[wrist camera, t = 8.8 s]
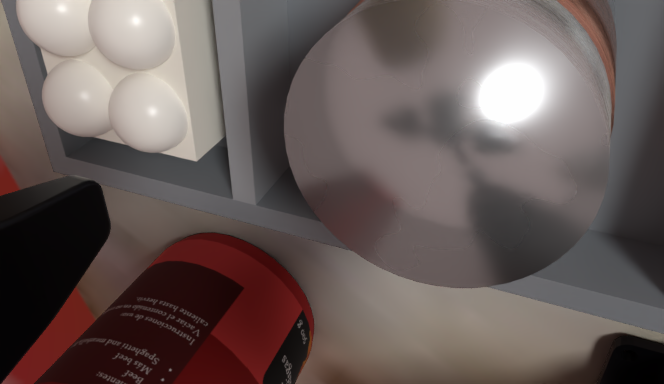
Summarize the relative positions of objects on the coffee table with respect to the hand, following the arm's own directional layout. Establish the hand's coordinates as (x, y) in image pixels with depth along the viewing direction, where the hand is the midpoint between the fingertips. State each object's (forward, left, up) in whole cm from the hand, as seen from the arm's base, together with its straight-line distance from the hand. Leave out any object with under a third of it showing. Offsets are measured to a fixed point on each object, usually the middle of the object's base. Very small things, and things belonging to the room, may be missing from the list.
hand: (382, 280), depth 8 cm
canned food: (-14, +9, -11) cm, 20 cm away
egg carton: (0, +10, -10) cm, 14 cm away
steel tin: (0, 0, -10) cm, 10 cm away
